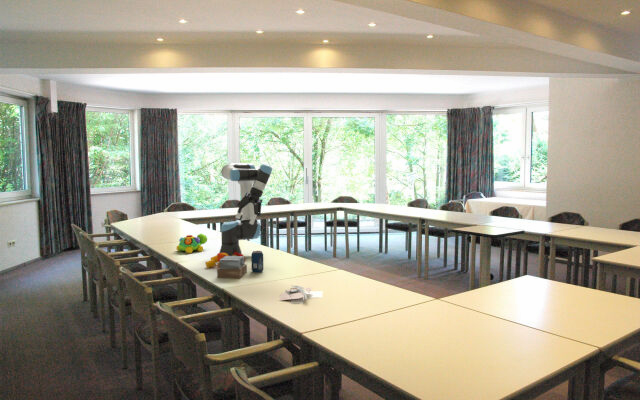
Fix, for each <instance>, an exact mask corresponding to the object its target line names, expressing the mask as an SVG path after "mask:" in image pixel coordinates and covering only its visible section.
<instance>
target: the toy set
mask: <svg viewBox="0 0 640 400" xmlns="http://www.w3.org/2000/svg"><path fill="white" fill-rule="evenodd" d="M225 256H229V255H228V254H226V253H219V252H218V253H217V254H216V255H215V256H212V257H210V260H208V261H206V262H205V267H206V268H207V269H210V268H212V267H215V266H216V265H217V267H220V264H219V260H220V259H222V258H223V257H225ZM232 256H244V263H245V262H246V257H245V255H244V254H243V253H242V254H240V253H239V254H238V253H237V252H234V255H232Z"/></svg>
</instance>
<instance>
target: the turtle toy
mask: <svg viewBox="0 0 640 400" xmlns="http://www.w3.org/2000/svg"><path fill="white" fill-rule="evenodd" d="M178 241H179V243H178V244H177V245H176V251H178V252H183V251H185V253H186V254H192V253H193V251H197V252H203V250H204V247H203V246H202V245H204V244H206V243H207V242H208V237H207V235H205V234H203V233H199V234H197V236H194V235H192V234H187V235H186V236H184V237H179V239H178Z"/></svg>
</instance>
